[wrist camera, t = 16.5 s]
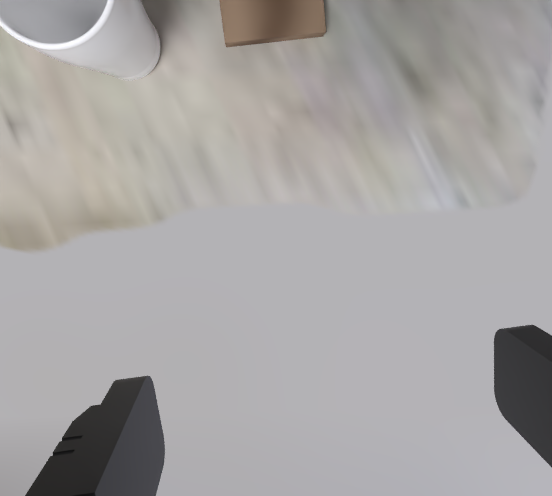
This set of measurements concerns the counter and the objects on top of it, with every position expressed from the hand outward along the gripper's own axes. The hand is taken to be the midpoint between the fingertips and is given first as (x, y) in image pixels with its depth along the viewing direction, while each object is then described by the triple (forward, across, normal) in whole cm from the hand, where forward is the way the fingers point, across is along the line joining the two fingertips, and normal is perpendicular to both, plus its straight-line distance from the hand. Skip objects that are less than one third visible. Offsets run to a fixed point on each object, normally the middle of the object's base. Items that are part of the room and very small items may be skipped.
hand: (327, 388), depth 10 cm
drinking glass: (+30, +10, -15) cm, 35 cm away
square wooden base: (+30, -2, -18) cm, 35 cm away
